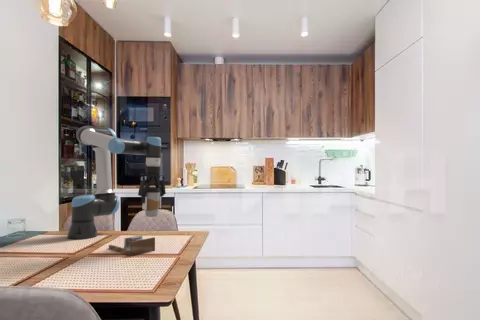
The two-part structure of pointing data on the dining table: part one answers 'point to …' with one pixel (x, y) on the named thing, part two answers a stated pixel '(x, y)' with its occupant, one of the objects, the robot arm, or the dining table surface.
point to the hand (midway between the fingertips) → (151, 208)
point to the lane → (137, 247)
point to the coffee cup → (152, 201)
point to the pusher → (130, 239)
